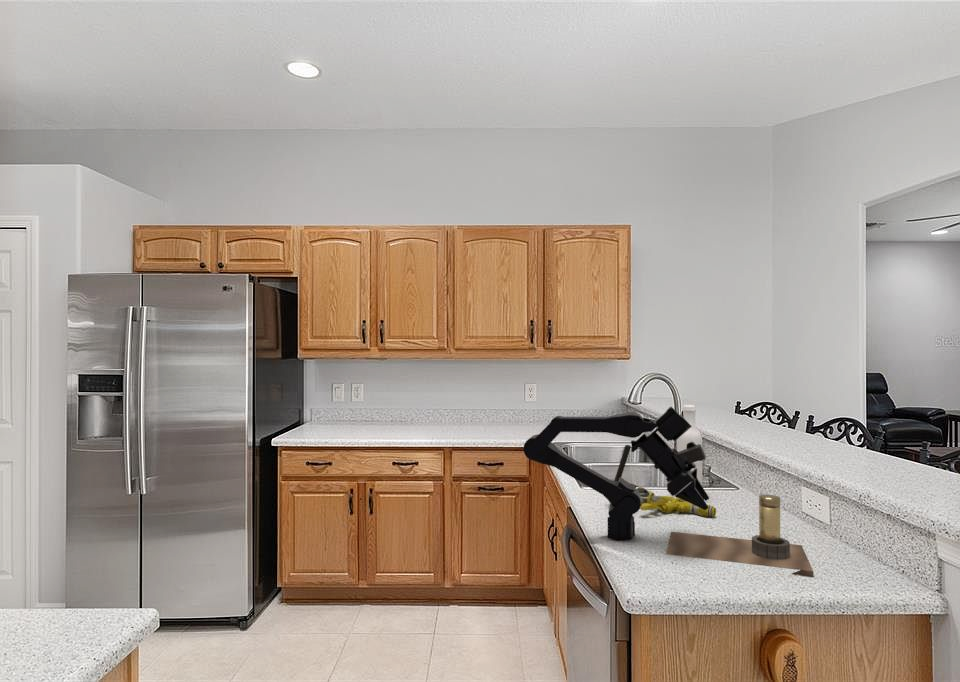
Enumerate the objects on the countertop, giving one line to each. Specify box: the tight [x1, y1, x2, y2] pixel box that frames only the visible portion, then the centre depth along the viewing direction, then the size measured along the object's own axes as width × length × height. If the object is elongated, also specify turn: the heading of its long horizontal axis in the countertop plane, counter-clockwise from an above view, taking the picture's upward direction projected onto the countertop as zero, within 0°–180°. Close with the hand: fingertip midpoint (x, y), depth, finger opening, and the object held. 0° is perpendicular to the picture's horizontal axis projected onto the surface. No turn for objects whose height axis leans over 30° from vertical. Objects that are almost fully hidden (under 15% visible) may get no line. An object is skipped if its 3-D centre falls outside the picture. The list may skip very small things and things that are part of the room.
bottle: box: [676, 404, 703, 486], centre depth 195 cm, size 8×8×30 cm
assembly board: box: [665, 531, 814, 578], centre depth 143 cm, size 30×18×4 cm, turn 69°
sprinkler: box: [639, 491, 717, 518], centre depth 178 cm, size 22×6×20 cm
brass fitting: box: [758, 494, 781, 545], centre depth 140 cm, size 4×4×13 cm
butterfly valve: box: [613, 444, 653, 505], centre depth 187 cm, size 9×20×17 cm
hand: (707, 504), depth 146 cm, fingers open, 9 cm apart
